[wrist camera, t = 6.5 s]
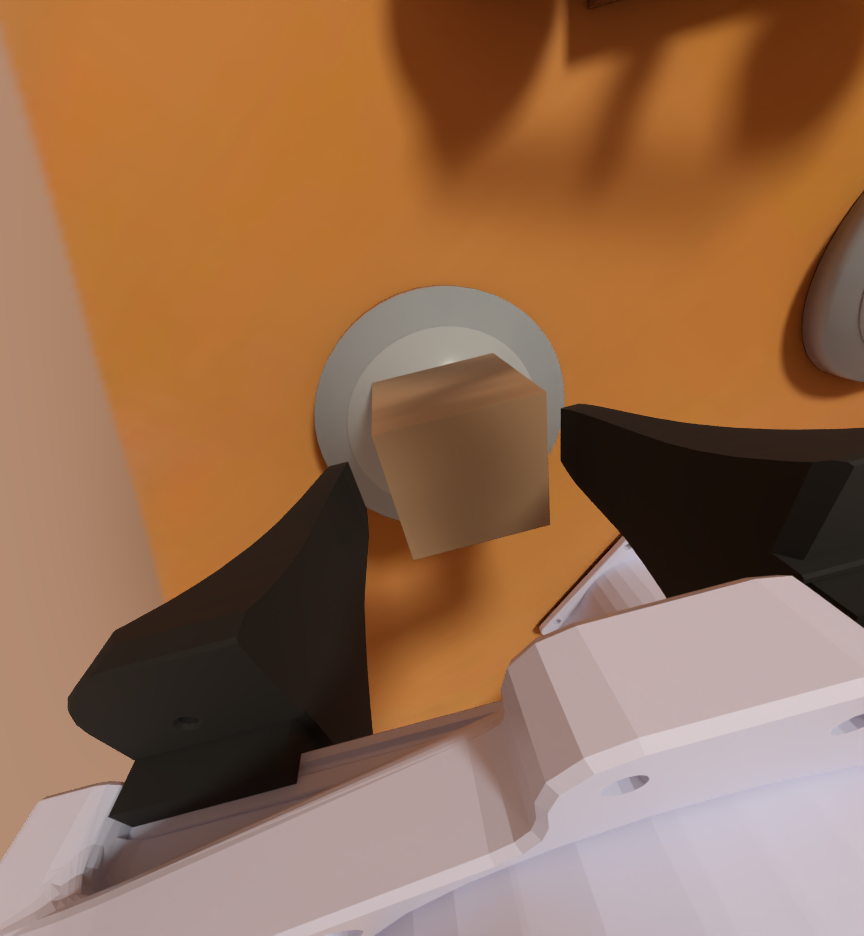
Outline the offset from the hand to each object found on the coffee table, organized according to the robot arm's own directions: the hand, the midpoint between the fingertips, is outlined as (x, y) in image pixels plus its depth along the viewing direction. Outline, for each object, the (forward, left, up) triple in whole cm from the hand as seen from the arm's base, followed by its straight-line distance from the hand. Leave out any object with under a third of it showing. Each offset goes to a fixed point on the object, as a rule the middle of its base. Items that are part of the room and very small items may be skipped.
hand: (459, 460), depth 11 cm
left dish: (0, 0, -4) cm, 4 cm away
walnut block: (0, 0, -3) cm, 3 cm away
